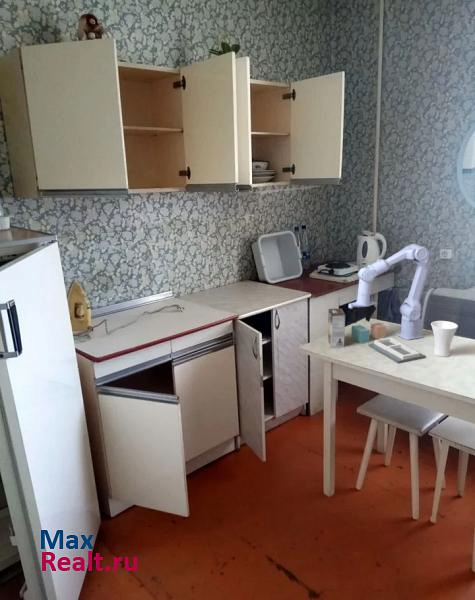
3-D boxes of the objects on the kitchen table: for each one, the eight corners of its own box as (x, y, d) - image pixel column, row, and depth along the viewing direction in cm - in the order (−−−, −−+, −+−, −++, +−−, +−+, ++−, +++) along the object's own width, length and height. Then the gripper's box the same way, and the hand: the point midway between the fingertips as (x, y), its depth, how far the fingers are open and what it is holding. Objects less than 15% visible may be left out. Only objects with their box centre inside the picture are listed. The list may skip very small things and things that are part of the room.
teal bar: (359, 336, 225) (359, 324, 224) (368, 342, 218) (369, 330, 216) (351, 337, 224) (351, 326, 222) (360, 343, 217) (361, 331, 215)
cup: (457, 359, 195) (460, 329, 192) (431, 358, 197) (433, 328, 194) (451, 350, 205) (454, 321, 201) (426, 349, 207) (429, 320, 203)
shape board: (394, 341, 217) (394, 336, 216) (425, 357, 198) (425, 352, 197) (368, 346, 213) (368, 341, 212) (398, 363, 194) (398, 357, 193)
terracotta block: (379, 334, 227) (379, 322, 225) (385, 337, 223) (386, 325, 221) (370, 335, 226) (370, 324, 224) (376, 339, 221) (377, 327, 219)
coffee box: (327, 340, 222) (328, 308, 217) (340, 340, 221) (341, 308, 217) (330, 347, 213) (331, 314, 208) (344, 347, 213) (345, 314, 208)
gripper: (371, 290, 221) (368, 317, 224) (345, 292, 215) (343, 320, 219) (381, 294, 214) (377, 322, 218) (355, 296, 209) (352, 325, 213)
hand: (360, 321), depth 218 cm, fingers open, 7 cm apart
